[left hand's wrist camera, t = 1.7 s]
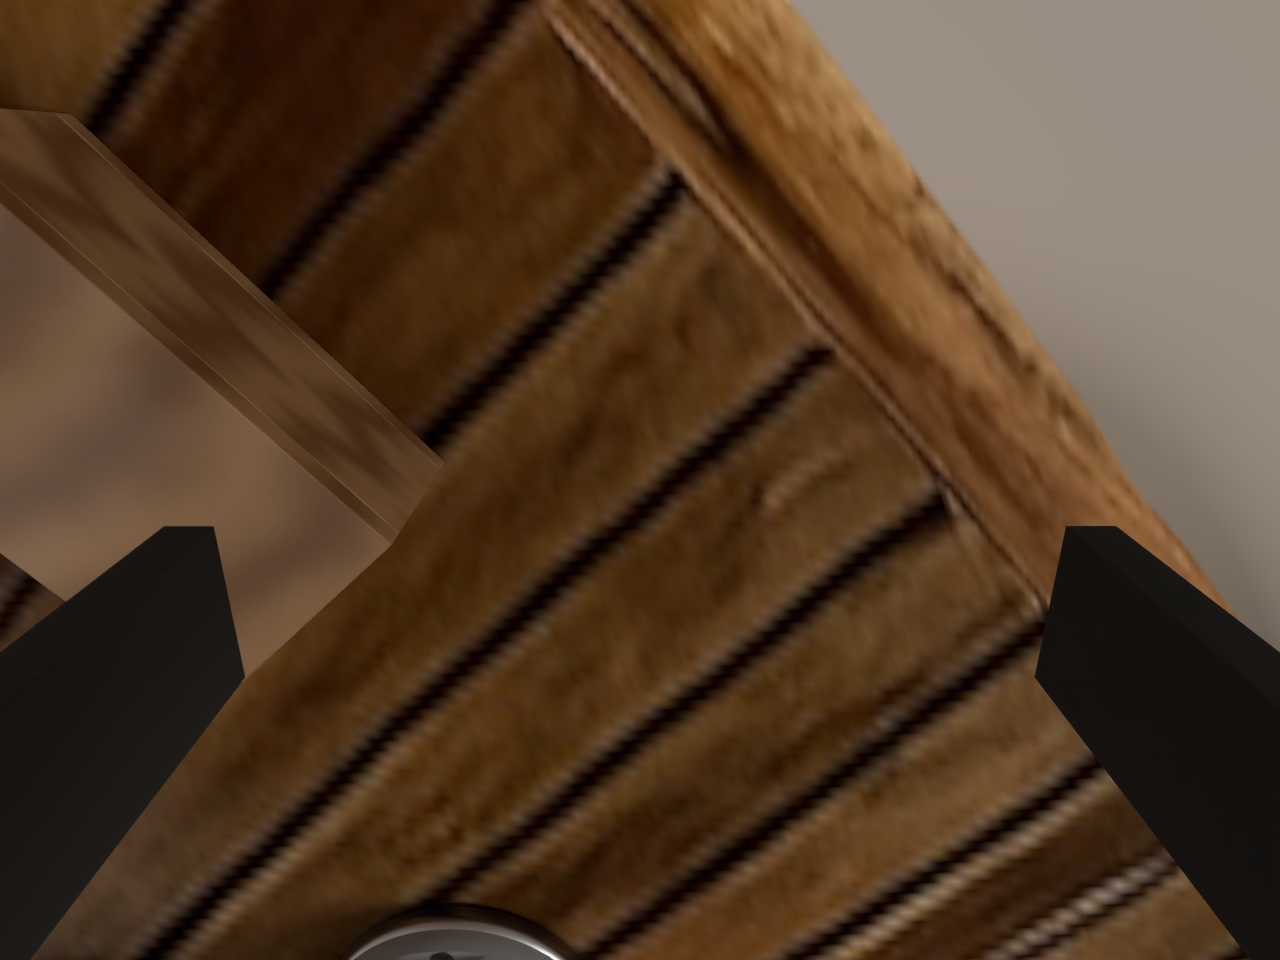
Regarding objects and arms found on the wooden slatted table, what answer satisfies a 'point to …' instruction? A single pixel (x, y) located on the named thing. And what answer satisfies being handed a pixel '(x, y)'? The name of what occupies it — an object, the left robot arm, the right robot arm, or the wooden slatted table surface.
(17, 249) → the cabinet
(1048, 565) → the wooden slatted table surface
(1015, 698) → the wooden slatted table surface
